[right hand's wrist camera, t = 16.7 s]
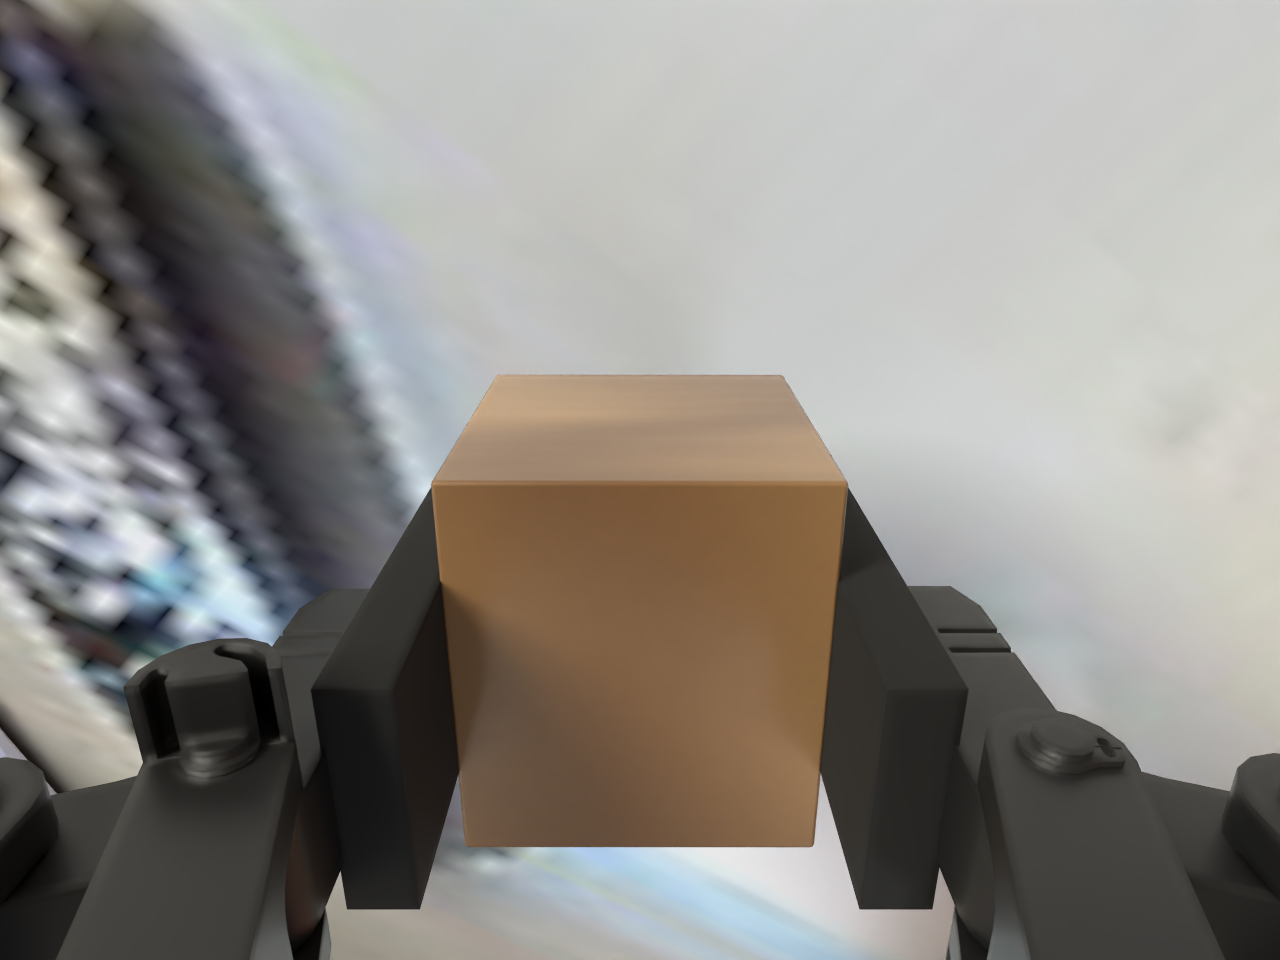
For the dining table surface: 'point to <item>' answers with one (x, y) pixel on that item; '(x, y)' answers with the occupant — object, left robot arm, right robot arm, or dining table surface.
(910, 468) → the dining table surface
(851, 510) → the right robot arm
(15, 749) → the left robot arm
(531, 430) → the cardboard box
